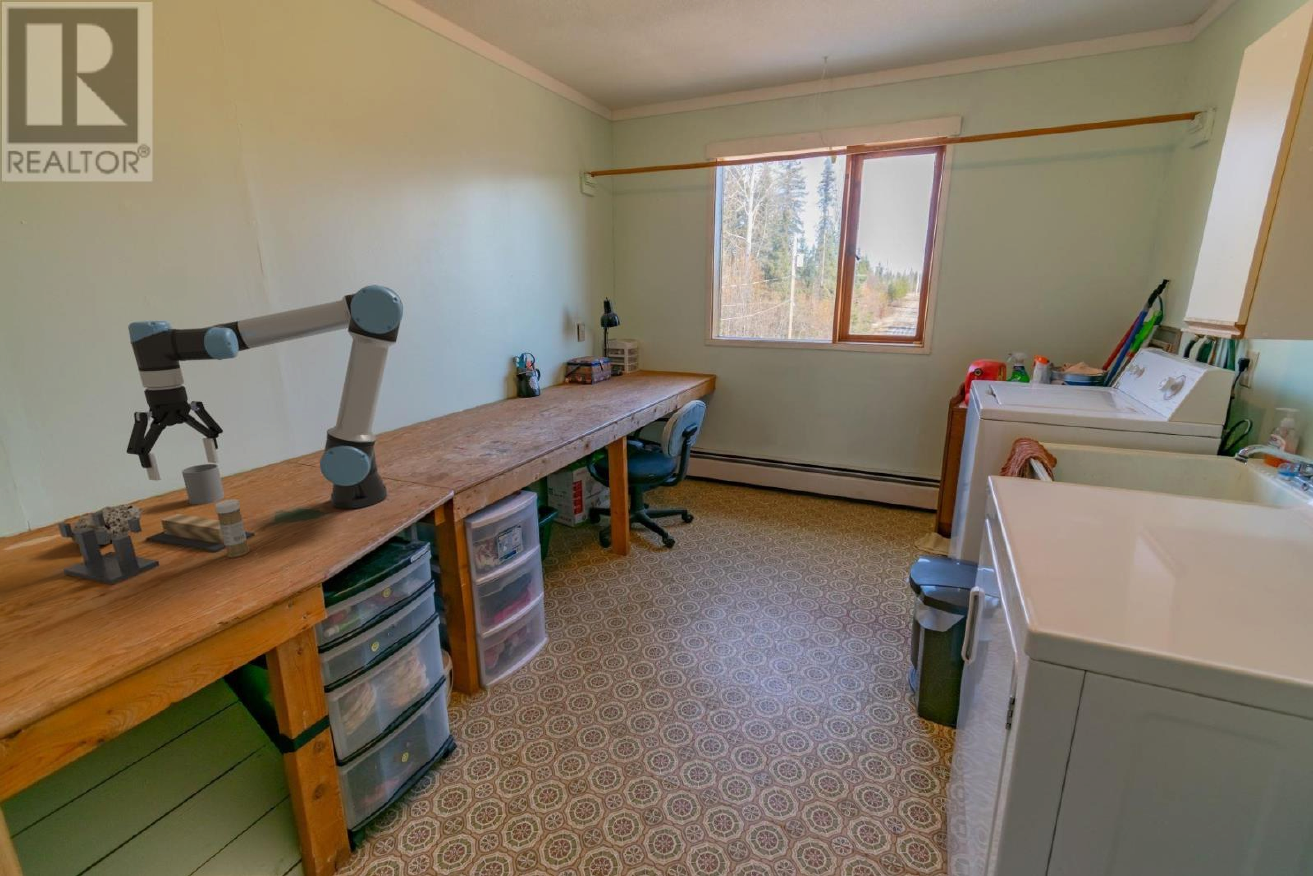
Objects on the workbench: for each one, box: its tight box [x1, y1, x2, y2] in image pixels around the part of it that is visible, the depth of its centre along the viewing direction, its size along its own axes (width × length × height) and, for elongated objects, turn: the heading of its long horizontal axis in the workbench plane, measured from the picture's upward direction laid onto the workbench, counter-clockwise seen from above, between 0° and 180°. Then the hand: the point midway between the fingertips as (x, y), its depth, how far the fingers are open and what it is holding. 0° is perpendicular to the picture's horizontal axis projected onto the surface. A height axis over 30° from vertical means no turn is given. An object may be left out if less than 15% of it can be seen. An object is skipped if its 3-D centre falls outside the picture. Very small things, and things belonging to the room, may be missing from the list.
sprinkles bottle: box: [214, 499, 250, 558], centre depth 132 cm, size 5×5×13 cm
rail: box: [160, 513, 224, 544], centre depth 142 cm, size 20×4×4 cm, turn 74°
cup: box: [181, 463, 225, 506], centre depth 167 cm, size 8×8×10 cm
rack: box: [57, 511, 160, 586], centre depth 125 cm, size 16×9×12 cm, turn 74°
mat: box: [145, 530, 256, 553], centre depth 143 cm, size 24×10×1 cm, turn 74°
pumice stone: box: [69, 504, 143, 545], centre depth 141 cm, size 14×12×8 cm
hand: (185, 470), depth 138 cm, fingers open, 13 cm apart
